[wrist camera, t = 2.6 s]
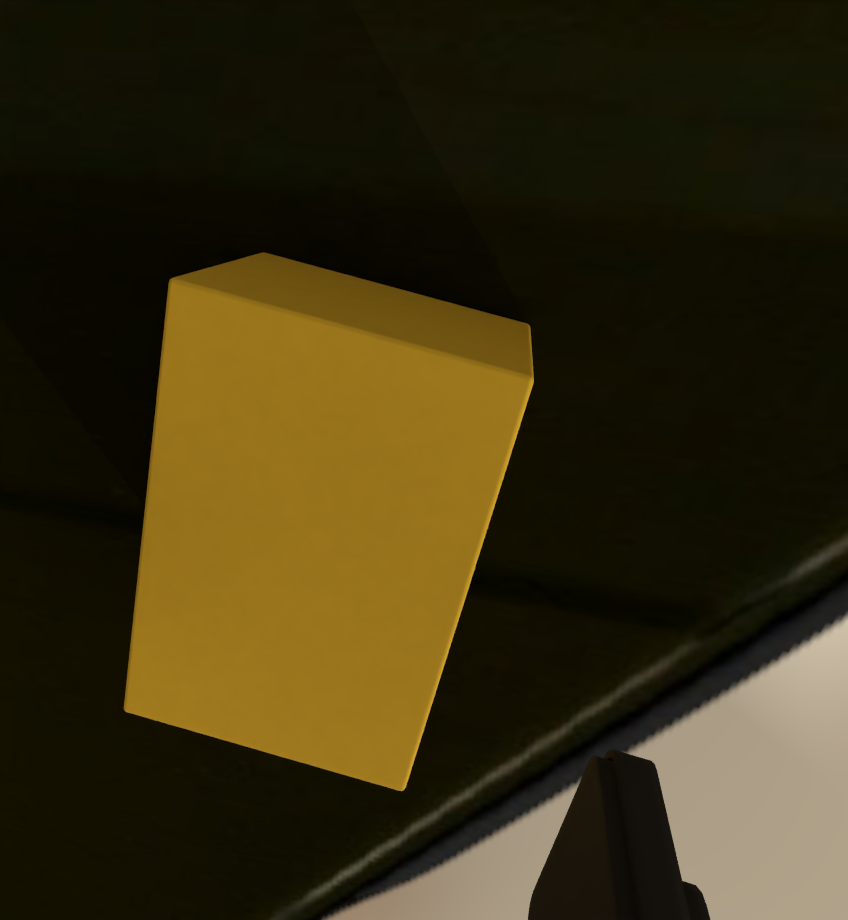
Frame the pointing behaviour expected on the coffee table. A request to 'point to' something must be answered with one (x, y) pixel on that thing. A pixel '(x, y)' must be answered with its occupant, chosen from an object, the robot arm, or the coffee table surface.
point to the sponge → (316, 508)
